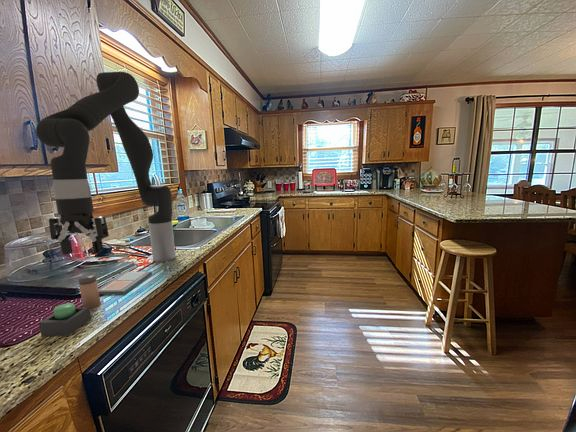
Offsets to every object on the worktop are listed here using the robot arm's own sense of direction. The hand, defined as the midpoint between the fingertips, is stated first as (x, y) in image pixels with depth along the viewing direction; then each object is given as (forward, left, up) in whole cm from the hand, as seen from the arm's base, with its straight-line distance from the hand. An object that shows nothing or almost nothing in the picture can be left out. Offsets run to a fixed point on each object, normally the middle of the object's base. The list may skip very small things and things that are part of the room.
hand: (83, 253), depth 70 cm
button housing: (+9, -4, -16) cm, 19 cm away
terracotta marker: (0, 0, -16) cm, 16 cm away
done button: (+9, -4, -13) cm, 16 cm away
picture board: (-12, +8, -16) cm, 22 cm away
